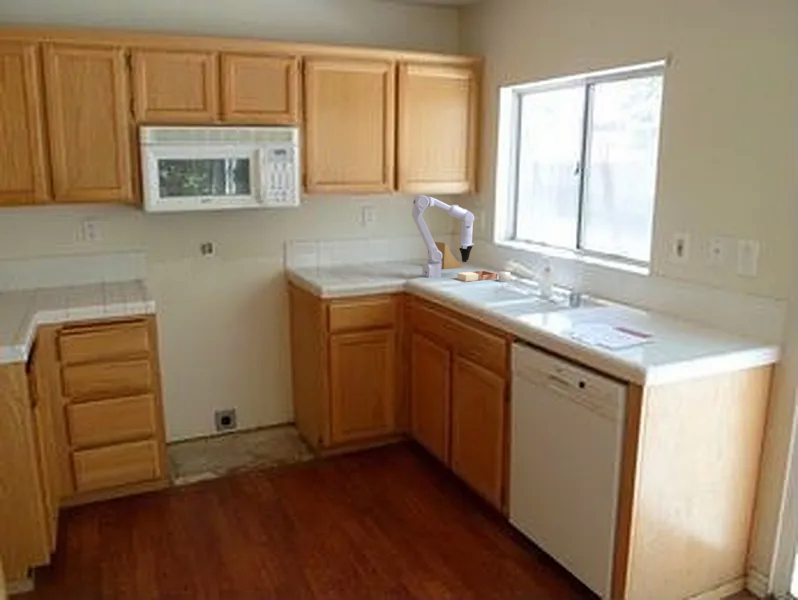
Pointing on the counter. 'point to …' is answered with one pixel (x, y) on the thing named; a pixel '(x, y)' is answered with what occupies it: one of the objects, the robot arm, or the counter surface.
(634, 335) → the counter surface
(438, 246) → the sandwich container
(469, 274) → the carton
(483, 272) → the open-sided wooden box
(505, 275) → the grey rounded piece
